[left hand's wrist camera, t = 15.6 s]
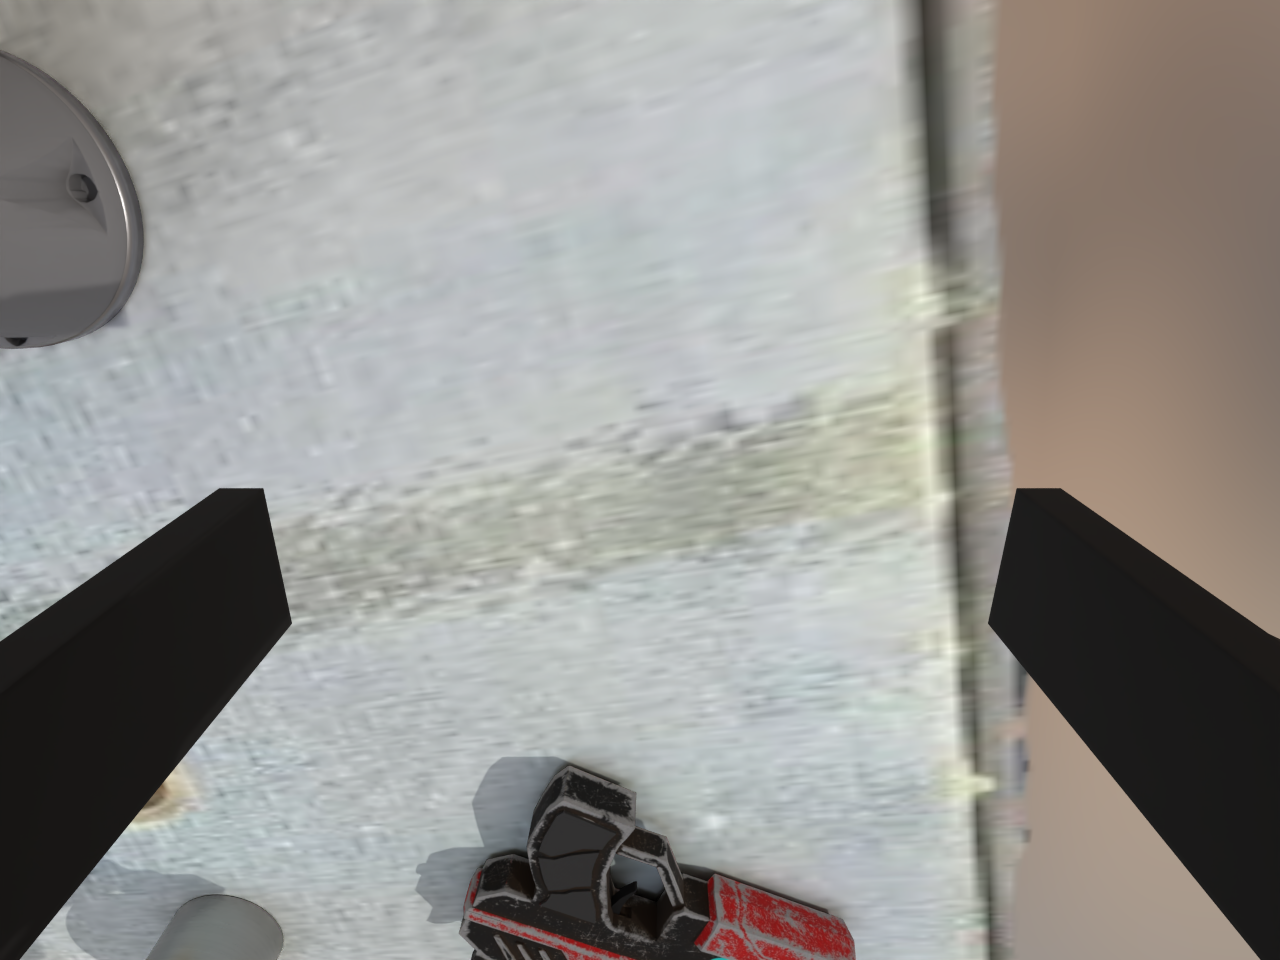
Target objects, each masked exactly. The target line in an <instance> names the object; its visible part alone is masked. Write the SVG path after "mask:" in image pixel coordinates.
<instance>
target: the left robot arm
mask: <svg viewBox="0 0 1280 960" xmlns="http://www.w3.org/2000/svg"><path fill="white" fill-rule="evenodd" d="M143 245H144V244H143V224H142V216H141V211H140V206H139V201H138V198H137V195H136V191H135V188H134V185H133V183H132V180H131V177H130V175H129V172H128V170H127V168H126V166H125V164H124V162H123V160H122V158H121V156H120V154H119V152H118V151H117V149H116V147H115V146H114V144H113V142H112V141H111V139H110V138H109V136H108V135H107V133H106V132H105V131H104V129H103V128H102V126H101V125H100V124H99V123H98V121H97V120H96V119H95V118H94V116H93V115H92V114H91V113H90V112H89V111H88V110H87V109H86V108H85V107H84V105H83V104H82V103H81V102H80V101H79V100H78V99H77V98H76V97H74V96H73V95H72V94H71V93H70V92H69V91H68V90H67V89H66V88H64V87H63V86H62V85H61V84H59V83H58V82H57V81H56V80H54V79H53V78H52V77H50V76H49V75H47V74H46V73H44V72H43V71H41V70H40V69H38V68H37V67H35V66H33V65H31V64H29V63H28V62H26V61H24V60H22V59H20V58H18V57H16V56H14V55H11V54H9V53H7V52H4V51H1V50H0V348H5V349H19V348H34V347H43V346H49V345H54V344H58V343H62V342H66V341H70V340H73V339H77V338H80V337H82V336H85V335H87V334H90V333H92V332H93V331H95V330H97V329H99V328H100V327H102V326H103V325H104V324H106V323H107V322H108V321H110V320H111V319H112V318H113V317H114V316H115V315H116V314H117V313H118V312H119V311H120V309H121V308H122V307H123V306H124V304H125V303H126V301H127V300H128V298H129V296H130V295H131V293H132V291H133V289H134V286H135V284H136V282H137V278H138V275H139V272H140V268H141V263H142V257H143ZM291 624H292V621H291V616H290V612H289V607H288V602H287V598H286V593H285V588H284V584H283V579H282V574H281V569H280V565H279V560H278V555H277V551H276V546H275V541H274V536H273V532H272V527H271V522H270V518H269V513H268V508H267V504H266V499H265V494H264V489H263V488H219V489H218V490H216V491H215V492H213V493H212V494H211V495H209V496H208V497H206V498H205V499H203V500H202V501H201V502H199V503H198V504H196V505H195V506H193V507H192V508H191V509H189V510H188V511H186V512H185V513H183V514H182V515H181V516H179V517H178V518H176V519H175V520H173V521H172V522H171V523H169V524H168V525H166V526H165V527H163V528H162V529H161V530H159V531H158V532H156V533H155V534H153V535H152V536H151V537H149V538H148V539H146V540H145V541H143V542H142V543H141V544H139V545H138V546H136V547H135V548H133V549H132V550H131V551H129V552H128V553H126V554H125V555H123V556H122V557H120V558H119V559H118V560H116V561H115V562H113V563H112V564H110V565H109V566H108V567H106V568H105V569H103V570H102V571H100V572H99V573H98V574H96V575H95V576H93V577H92V578H90V579H89V580H88V581H86V582H85V583H83V584H82V585H80V586H79V587H78V588H76V589H75V590H73V591H72V592H70V593H69V594H68V595H66V596H65V597H63V598H62V599H60V600H59V601H58V602H56V603H55V604H53V605H52V606H50V607H49V608H48V609H46V610H45V611H43V612H42V613H40V614H39V615H38V616H36V617H35V618H33V619H32V620H30V621H29V622H28V623H26V624H25V625H23V626H22V627H20V628H19V629H18V630H16V631H15V632H13V633H12V634H10V635H9V636H8V637H6V638H5V639H3V640H2V641H0V960H20V958H21V957H22V956H23V955H24V953H25V952H26V951H27V950H28V949H29V947H30V946H31V945H32V944H33V942H34V941H35V940H36V939H37V937H38V936H39V935H40V934H41V932H42V931H43V930H44V929H45V928H46V926H47V925H48V924H49V923H50V921H51V920H52V919H53V918H54V916H55V915H56V914H57V913H58V912H59V910H60V909H61V908H62V907H63V905H64V904H65V903H66V902H67V900H68V899H69V898H70V897H71V895H72V894H73V893H74V892H75V891H76V889H77V888H78V887H79V886H80V884H81V883H82V882H83V881H84V879H85V878H86V877H87V876H88V875H89V873H90V872H91V871H92V870H93V868H94V867H95V866H96V865H97V863H98V862H99V861H100V860H101V858H102V857H103V856H104V855H105V854H106V852H107V851H108V850H109V849H110V847H111V846H112V845H113V844H114V842H115V841H116V840H117V839H118V837H119V836H120V835H121V834H122V833H123V831H124V830H125V829H126V828H127V826H128V825H129V824H130V823H131V821H132V820H133V819H134V818H135V817H136V815H137V814H138V813H139V812H140V810H141V809H142V808H143V807H144V805H145V804H146V803H147V802H148V800H149V799H150V798H151V797H152V796H153V794H154V793H155V792H156V791H157V789H158V788H159V787H160V786H161V784H162V783H163V782H164V781H165V780H166V778H167V777H168V776H169V775H170V773H171V772H172V771H173V770H174V768H175V767H176V766H177V765H178V763H179V762H180V761H181V760H182V759H183V757H184V756H185V755H186V754H187V752H188V751H189V750H190V749H191V747H192V746H193V745H194V744H195V742H196V741H197V740H198V739H199V738H200V736H201V735H202V734H203V733H204V731H205V730H206V729H207V728H208V726H209V725H210V724H211V723H212V722H213V720H214V719H215V718H216V717H217V715H218V714H219V713H220V712H221V710H222V709H223V708H224V707H225V705H226V704H227V703H228V702H229V701H230V699H231V698H232V697H233V696H234V694H235V693H236V692H237V691H238V689H239V688H240V687H241V686H242V685H243V683H244V682H245V681H246V680H247V678H248V677H249V676H250V675H251V673H252V672H253V671H254V670H255V668H256V667H257V666H258V665H259V664H260V662H261V661H262V660H263V659H264V657H265V656H266V655H267V654H268V652H269V651H270V650H271V649H272V647H273V646H274V645H275V644H276V643H277V641H278V640H279V639H280V638H281V636H282V635H283V634H284V633H285V631H286V630H287V629H288V628H289V627H290V625H291ZM988 624H989V625H990V627H991V628H992V629H993V630H994V631H995V633H996V634H997V635H998V636H999V638H1000V639H1001V640H1002V641H1003V643H1004V644H1005V645H1006V646H1007V648H1008V649H1009V650H1010V651H1011V652H1012V654H1013V655H1014V656H1015V657H1016V659H1017V660H1018V661H1019V662H1020V664H1021V665H1022V666H1023V667H1024V668H1025V670H1026V671H1027V672H1028V673H1029V675H1030V676H1031V677H1032V678H1033V680H1034V681H1035V682H1036V683H1037V685H1038V686H1039V687H1040V688H1041V689H1042V691H1043V692H1044V693H1045V694H1046V696H1047V697H1048V698H1049V699H1050V701H1051V702H1052V703H1053V704H1054V705H1055V707H1056V708H1057V709H1058V710H1059V712H1060V713H1061V714H1062V715H1063V717H1064V718H1065V719H1066V720H1067V722H1068V723H1069V724H1070V725H1071V726H1072V728H1073V729H1074V730H1075V731H1076V733H1077V734H1078V735H1079V736H1080V738H1081V739H1082V740H1083V741H1084V742H1085V744H1086V745H1087V746H1088V747H1089V749H1090V750H1091V751H1092V752H1093V754H1094V755H1095V756H1096V757H1097V759H1098V760H1099V761H1100V762H1101V763H1102V765H1103V766H1104V767H1105V768H1106V770H1107V771H1108V772H1109V773H1110V775H1111V776H1112V777H1113V778H1114V780H1115V781H1116V782H1117V783H1118V784H1119V786H1120V787H1121V788H1122V789H1123V791H1124V792H1125V793H1126V794H1127V795H1128V797H1129V798H1130V799H1131V800H1132V802H1133V803H1134V804H1135V805H1136V807H1137V808H1138V809H1139V810H1140V812H1141V813H1142V814H1143V815H1144V817H1145V818H1146V819H1147V820H1148V821H1149V823H1150V824H1151V825H1152V826H1153V828H1154V829H1155V830H1156V831H1157V833H1158V834H1159V835H1160V836H1161V837H1162V839H1163V840H1164V841H1165V842H1166V844H1167V845H1168V846H1169V847H1170V849H1171V850H1172V851H1173V852H1174V854H1175V855H1176V856H1177V857H1178V858H1179V860H1180V861H1181V862H1182V863H1183V865H1184V866H1185V867H1186V868H1187V870H1188V871H1189V872H1190V873H1191V875H1192V876H1193V877H1194V878H1195V879H1196V881H1197V882H1198V883H1199V884H1200V886H1201V887H1202V888H1203V889H1204V890H1205V892H1206V893H1207V894H1208V895H1209V897H1210V898H1211V899H1212V900H1213V902H1214V903H1215V904H1216V905H1217V907H1218V908H1219V909H1220V910H1221V912H1222V913H1223V914H1224V915H1225V916H1226V918H1227V919H1228V920H1229V921H1230V923H1231V924H1232V925H1233V926H1234V928H1235V929H1236V930H1237V931H1238V932H1239V934H1240V935H1241V936H1242V937H1243V939H1244V940H1245V941H1246V942H1247V943H1248V945H1249V946H1250V947H1251V948H1252V950H1253V951H1254V952H1255V953H1256V955H1257V956H1258V957H1259V958H1260V960H1280V639H1278V638H1276V637H1274V636H1272V635H1270V634H1268V633H1267V632H1265V631H1264V630H1262V629H1261V628H1259V627H1258V626H1257V625H1255V624H1254V623H1252V622H1251V621H1250V620H1248V619H1247V618H1245V617H1244V616H1242V615H1241V614H1240V613H1238V612H1237V611H1235V610H1234V609H1232V608H1231V607H1230V606H1228V605H1227V604H1225V603H1224V602H1222V601H1221V600H1219V599H1218V598H1217V597H1215V596H1214V595H1212V594H1211V593H1210V592H1208V591H1207V590H1205V589H1204V588H1202V587H1201V586H1200V585H1198V584H1197V583H1195V582H1194V581H1192V580H1191V579H1189V578H1188V577H1187V576H1185V575H1184V574H1182V573H1181V572H1179V571H1178V570H1177V569H1175V568H1174V567H1172V566H1171V565H1170V564H1168V563H1167V562H1165V561H1164V560H1162V559H1161V558H1160V557H1158V556H1157V555H1155V554H1154V553H1152V552H1151V551H1149V550H1148V549H1147V548H1145V547H1144V546H1142V545H1141V544H1139V543H1138V542H1137V541H1135V540H1134V539H1132V538H1131V537H1129V536H1128V535H1127V534H1125V533H1124V532H1122V531H1121V530H1119V529H1118V528H1117V527H1115V526H1114V525H1112V524H1111V523H1109V522H1108V521H1107V520H1105V519H1104V518H1102V517H1101V516H1099V515H1098V514H1097V513H1095V512H1094V511H1092V510H1091V509H1089V508H1088V507H1087V506H1085V505H1084V504H1082V503H1081V502H1079V501H1078V500H1077V499H1075V498H1074V497H1072V496H1071V495H1069V494H1068V493H1067V492H1065V491H1064V490H1062V489H1061V488H1017V489H1016V494H1015V499H1014V504H1013V508H1012V513H1011V518H1010V522H1009V527H1008V532H1007V536H1006V541H1005V546H1004V551H1003V555H1002V560H1001V565H1000V569H999V574H998V579H997V584H996V588H995V593H994V598H993V602H992V607H991V612H990V616H989V621H988Z"/></svg>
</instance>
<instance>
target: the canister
mask: <svg viewBox="0 0 1280 960" xmlns="http://www.w3.org/2000/svg"><path fill="white" fill-rule="evenodd" d="M282 946H283V934H282V931H281V929H280V926H279V925H278V923H277V922H276V920H275V919H274V918H273V917H272V916H271V915H270V914H269V913H268V912H266V911H265V910H264V909H262V908H260V907H259V906H257V905H255V904H253V903H251V902H249V901H246V900H243V899H240V898H236V897H231V896H224V895H210V896H203V897H199V898H196V899H193V900H191V901H189V902H187V903H186V904H184V905H183V906H182V907H181V908H179V910H178V911H177V912H176V914H175V915H174V917H173V918H172V920H171V921H170V923H169V925H168V926H167V928H166V929H165V931H164V932H163V934H162V935H161V937H160V939H159V940H158V942H157V943H156V945H155V946H154V948H153V949H152V951H151V952H150V954H149V956H148V957H147V959H146V960H277V958H278V956H279V954H280V952H281V950H282Z"/></svg>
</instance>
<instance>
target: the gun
mask: <svg viewBox="0 0 1280 960" xmlns="http://www.w3.org/2000/svg"><path fill="white" fill-rule="evenodd" d="M635 811H636V792H633V791H631V790H628V789H626V788H623V787H621V786H618V785H616V784H613V783H611V782H608V781H606V780H603V779H601V778H598V777H596V776H593V775H591V774H589V773H586V772H584V771H581V770H579V769H576V768H574V767H572V766H567V767H566V768H564V769H563V770H562V771H560V772H559V773H558V774H556V775H555V776H554V778H553V779H552V780H551V782H550V783H549V785H548V786H547V788H546V790H545V791H544V793H543V794H542V796H541V798H540V800H539V802H538V804H537V806H536V807H535V809H534V813H533V818H532V822H531V827H530V832H529V837H528V842H527V852H528V857H529V859H527V858H524V857H521V856H518V855H515V854H510V855H506V856H501V857H497V858H492V859H488V860H487V861H486V863H485V864H484V866H483V868H478V869H477V870H476V872H475V874H474V875H473V877H472V879H471V881H470V884H469V888H468V891H467V895H466V899H465V903H464V907H463V910H464V916H463V920H462V923H461V927H460V931H459V934H460V935H461V936H462V937H463V938H464V939H465V940H466V941H467V942H468V943H469V944H470V945H471V946H472V947H473V948H474V949H475V950H474V951H473V954H472V958H471V960H856V956H855V945H854V940H853V938H852V936H851V934H850V932H849V930H848V928H847V926H846V924H845V923H844V921H843V919H840V918H838V917H835V916H832V915H829V914H826V913H824V912H821V911H818V910H815V909H813V908H810V907H807V906H804V905H801V904H799V903H796V902H793V901H790V900H787V899H785V898H782V897H779V896H776V895H773V894H771V893H768V892H765V891H762V890H759V889H757V888H754V887H751V886H748V885H745V884H743V883H740V882H737V881H734V880H731V879H729V878H726V877H723V876H721V875H718V874H715V873H714V875H713V876H712V877H711V878H710V879H709V880H708V881H704V880H701V879H698V878H695V877H693V876H690V875H687V874H684V873H683V874H681V872H680V870H679V867H678V865H677V862H676V860H675V857H674V854H673V852H672V849H671V847H670V844H669V842H668V839H667V837H666V836H663V835H660V834H657V833H654V832H651V831H648V830H645V829H642V828H639V827H637V826H635ZM615 853H616V854H619V855H622V856H625V857H628V858H631V859H634V860H637V861H640V862H643V863H646V864H649V865H652V866H655V867H657V870H658V872H659V875H660V877H661V879H662V882H663V884H664V887H665V890H664V892H663V893H662V895H661V896H660V898H659V899H658V901H657V902H655V901H652V900H649V899H646V898H643V897H640V896H637V895H634V893H636V890H637V882H636V881H635V882H633V883H631V884H629V885H627V886H625V887H623V888H622V889H620V890H619V889H616V888H615V887H614V884H613V882H612V879H611V876H610V865H611V862H612V860H613V858H614V855H615Z"/></svg>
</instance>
